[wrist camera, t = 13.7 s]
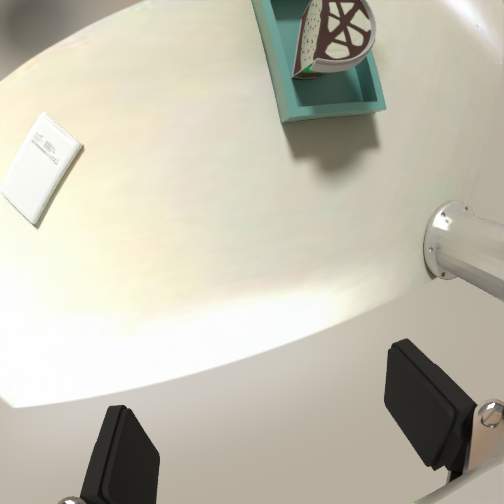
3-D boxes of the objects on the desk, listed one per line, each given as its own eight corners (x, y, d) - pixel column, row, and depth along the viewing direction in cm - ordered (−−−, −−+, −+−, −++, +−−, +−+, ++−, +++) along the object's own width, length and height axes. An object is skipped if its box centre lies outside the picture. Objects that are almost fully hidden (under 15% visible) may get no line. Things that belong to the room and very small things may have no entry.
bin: (336, -1, 29) (348, -16, 25) (368, 114, 34) (386, 109, 30) (251, 0, 29) (256, -18, 24) (281, 123, 34) (290, 117, 29)
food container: (337, 102, 33) (377, 84, 23) (289, 89, 32) (316, 63, 22) (346, 23, 30) (381, -10, 20) (302, 9, 29) (327, -30, 19)
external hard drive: (4, 188, 31) (47, 112, 30) (38, 222, 33) (85, 144, 32) (-2, 189, 30) (41, 110, 28) (32, 225, 32) (80, 144, 30)
